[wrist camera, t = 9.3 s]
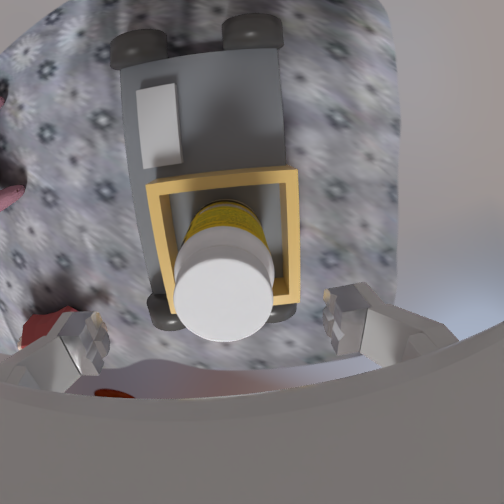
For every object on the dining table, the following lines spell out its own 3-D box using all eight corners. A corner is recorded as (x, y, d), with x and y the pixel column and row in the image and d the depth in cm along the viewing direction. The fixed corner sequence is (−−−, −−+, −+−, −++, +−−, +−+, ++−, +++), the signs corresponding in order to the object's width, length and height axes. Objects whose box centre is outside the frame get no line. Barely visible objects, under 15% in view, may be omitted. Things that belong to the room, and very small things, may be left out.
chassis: (157, 304, 22) (147, 331, 19) (121, 53, 15) (101, 40, 11) (291, 293, 22) (301, 319, 19) (276, 33, 15) (286, 13, 12)
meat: (95, 288, 20) (80, 337, 17) (124, 325, 23) (117, 372, 20) (13, 311, 21) (-3, 349, 17) (41, 340, 24) (30, 377, 20)
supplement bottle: (183, 203, 18) (149, 255, 10) (257, 193, 18) (279, 237, 10) (197, 271, 20) (179, 354, 12) (265, 262, 20) (286, 341, 12)
